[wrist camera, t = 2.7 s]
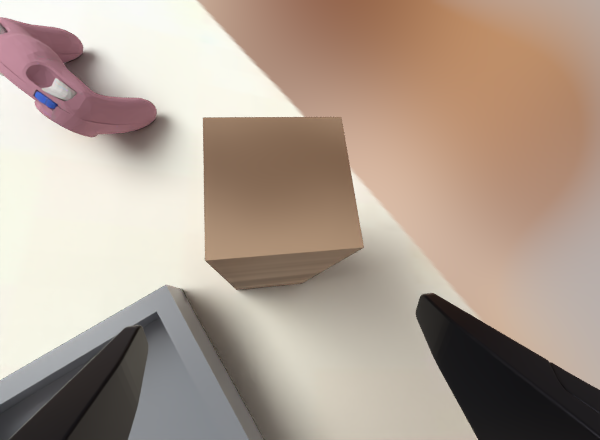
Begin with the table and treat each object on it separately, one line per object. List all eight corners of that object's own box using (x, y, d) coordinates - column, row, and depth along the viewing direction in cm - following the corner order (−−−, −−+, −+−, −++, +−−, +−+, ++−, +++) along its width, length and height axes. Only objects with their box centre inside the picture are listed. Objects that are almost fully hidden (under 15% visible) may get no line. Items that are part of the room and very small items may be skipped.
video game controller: (51, 83, 24) (-70, 34, 17) (80, 37, 23) (-34, -34, 16) (134, 159, 23) (43, 140, 16) (167, 113, 22) (86, 72, 15)
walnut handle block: (301, 283, 20) (363, 247, 8) (236, 289, 20) (205, 260, 8) (295, 222, 22) (341, 117, 10) (234, 226, 21) (203, 117, 9)
